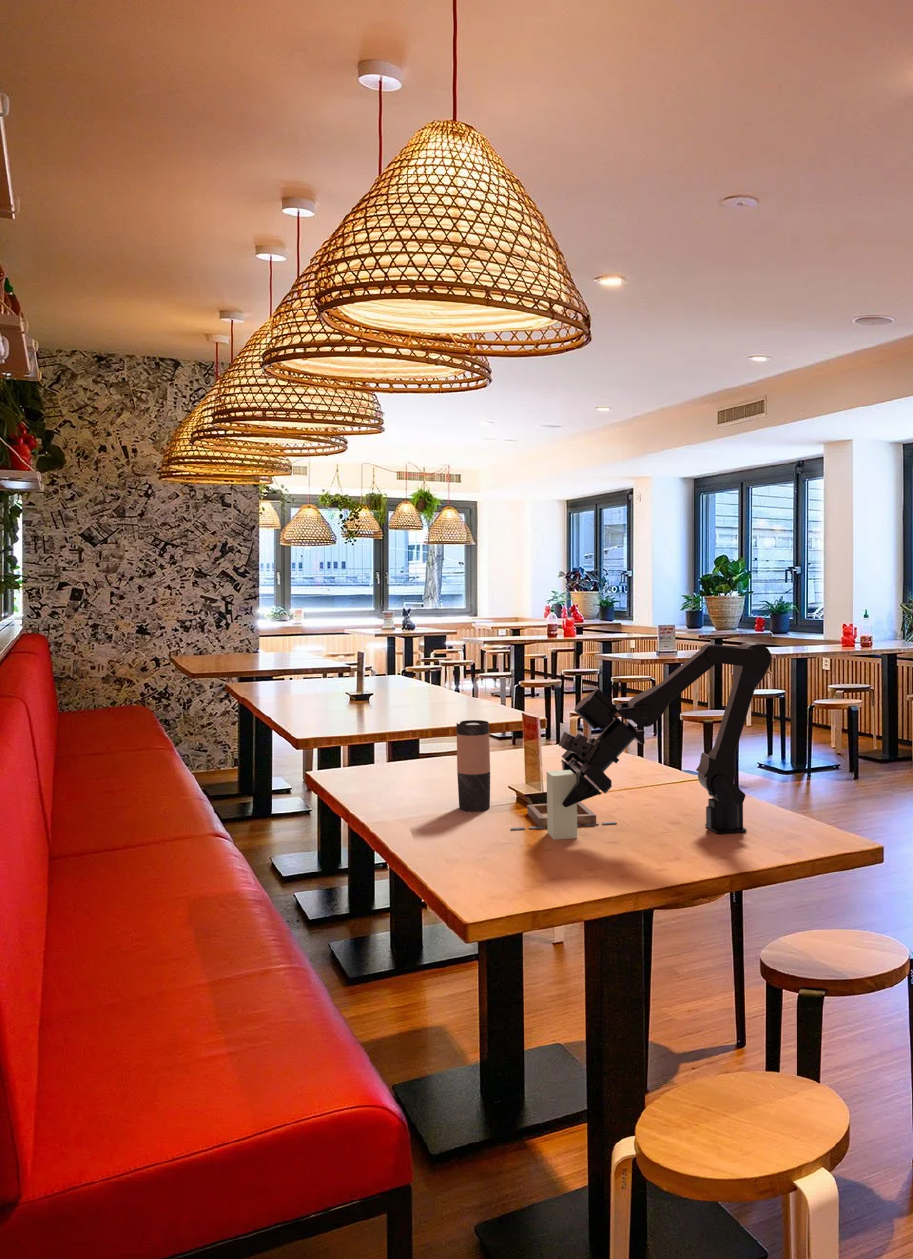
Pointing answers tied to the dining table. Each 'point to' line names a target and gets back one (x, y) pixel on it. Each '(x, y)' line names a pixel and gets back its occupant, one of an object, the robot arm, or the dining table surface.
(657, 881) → the dining table surface
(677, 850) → the dining table surface
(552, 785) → the stub block
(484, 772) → the travel mug
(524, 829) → the perforation line
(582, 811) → the stub tray
